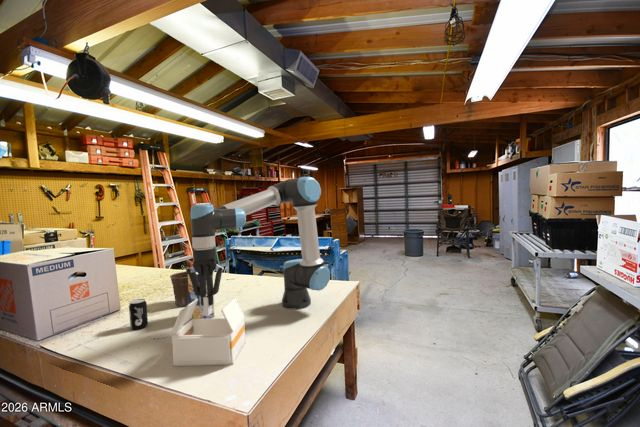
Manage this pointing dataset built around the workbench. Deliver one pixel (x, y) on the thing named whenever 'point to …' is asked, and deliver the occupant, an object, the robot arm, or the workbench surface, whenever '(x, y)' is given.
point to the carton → (207, 343)
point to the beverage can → (138, 314)
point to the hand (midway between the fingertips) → (208, 314)
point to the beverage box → (198, 302)
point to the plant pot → (180, 288)
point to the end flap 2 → (233, 314)
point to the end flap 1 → (185, 315)
